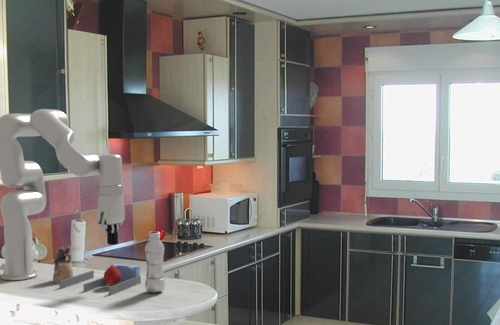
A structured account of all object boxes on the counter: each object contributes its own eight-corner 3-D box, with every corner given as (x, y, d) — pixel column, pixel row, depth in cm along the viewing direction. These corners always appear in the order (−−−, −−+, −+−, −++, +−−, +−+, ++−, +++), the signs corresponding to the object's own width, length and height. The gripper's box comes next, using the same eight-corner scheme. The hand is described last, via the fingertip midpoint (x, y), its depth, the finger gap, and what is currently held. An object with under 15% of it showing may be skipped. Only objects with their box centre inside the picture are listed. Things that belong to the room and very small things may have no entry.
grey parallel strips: (59, 288, 207) (59, 281, 207) (92, 277, 223) (91, 270, 223) (110, 295, 199) (110, 287, 198) (140, 282, 214) (140, 275, 214)
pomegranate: (100, 287, 209) (100, 264, 208) (115, 284, 213) (114, 261, 212) (110, 290, 205) (109, 266, 204) (124, 286, 209) (124, 263, 208)
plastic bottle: (141, 293, 200) (140, 233, 199) (152, 288, 206) (151, 230, 205) (158, 295, 198) (157, 234, 197) (168, 290, 204) (167, 231, 203)
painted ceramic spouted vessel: (60, 277, 223) (59, 245, 222) (77, 278, 221) (76, 246, 220) (49, 282, 216) (48, 248, 215) (66, 283, 214) (65, 249, 213)
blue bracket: (109, 282, 215) (109, 265, 215) (115, 280, 218) (115, 263, 218) (134, 285, 211) (133, 268, 211) (139, 282, 214) (139, 266, 214)
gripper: (115, 188, 215) (117, 239, 216) (88, 192, 201) (89, 247, 202) (133, 188, 212) (134, 241, 213) (106, 193, 198) (107, 248, 199)
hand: (112, 243), depth 208 cm, fingers closed
